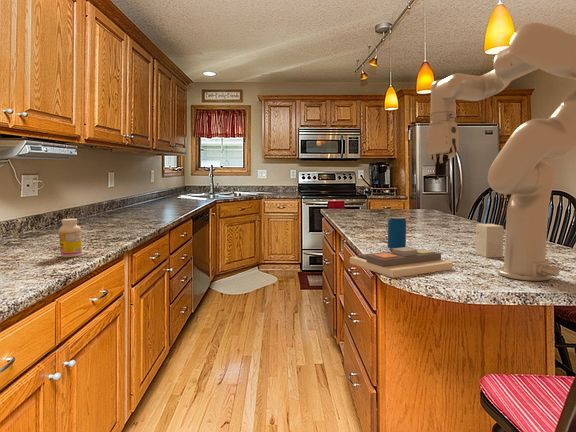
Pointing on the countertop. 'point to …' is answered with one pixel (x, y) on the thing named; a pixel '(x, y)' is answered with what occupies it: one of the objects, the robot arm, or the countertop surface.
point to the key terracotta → (385, 255)
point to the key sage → (424, 251)
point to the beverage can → (396, 232)
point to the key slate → (404, 251)
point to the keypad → (402, 264)
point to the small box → (489, 240)
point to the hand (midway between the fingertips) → (440, 175)
